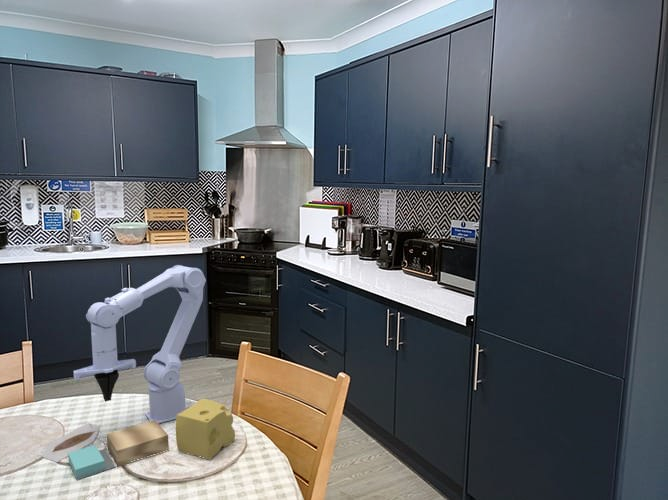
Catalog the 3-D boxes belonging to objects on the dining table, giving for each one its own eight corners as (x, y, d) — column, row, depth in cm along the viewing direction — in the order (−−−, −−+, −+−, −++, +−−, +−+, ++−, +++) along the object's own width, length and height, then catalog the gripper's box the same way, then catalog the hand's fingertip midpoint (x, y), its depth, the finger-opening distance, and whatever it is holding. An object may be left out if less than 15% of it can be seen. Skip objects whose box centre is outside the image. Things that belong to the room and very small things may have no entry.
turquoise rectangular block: (68, 452, 114) (68, 460, 114) (75, 469, 107) (76, 478, 107) (95, 444, 117) (95, 452, 118) (104, 460, 110) (104, 468, 111)
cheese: (235, 441, 124) (234, 404, 123) (208, 462, 114) (206, 422, 113) (203, 432, 128) (202, 397, 127) (174, 452, 118) (173, 414, 117)
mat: (105, 449, 119) (105, 448, 119) (115, 467, 112) (115, 466, 112) (69, 460, 115) (69, 459, 115) (77, 480, 107) (77, 479, 107)
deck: (155, 434, 127) (155, 420, 127) (168, 450, 119) (168, 435, 119) (107, 449, 120) (106, 434, 119) (117, 466, 112) (116, 450, 111)
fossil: (88, 422, 132) (113, 428, 128) (88, 426, 133) (114, 432, 128) (30, 452, 118) (56, 459, 114) (30, 457, 118) (57, 464, 114)
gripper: (76, 359, 115) (79, 412, 117) (138, 347, 124) (140, 397, 126) (70, 351, 121) (74, 402, 122) (130, 341, 130) (133, 388, 131)
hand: (107, 399), depth 124 cm, fingers closed
